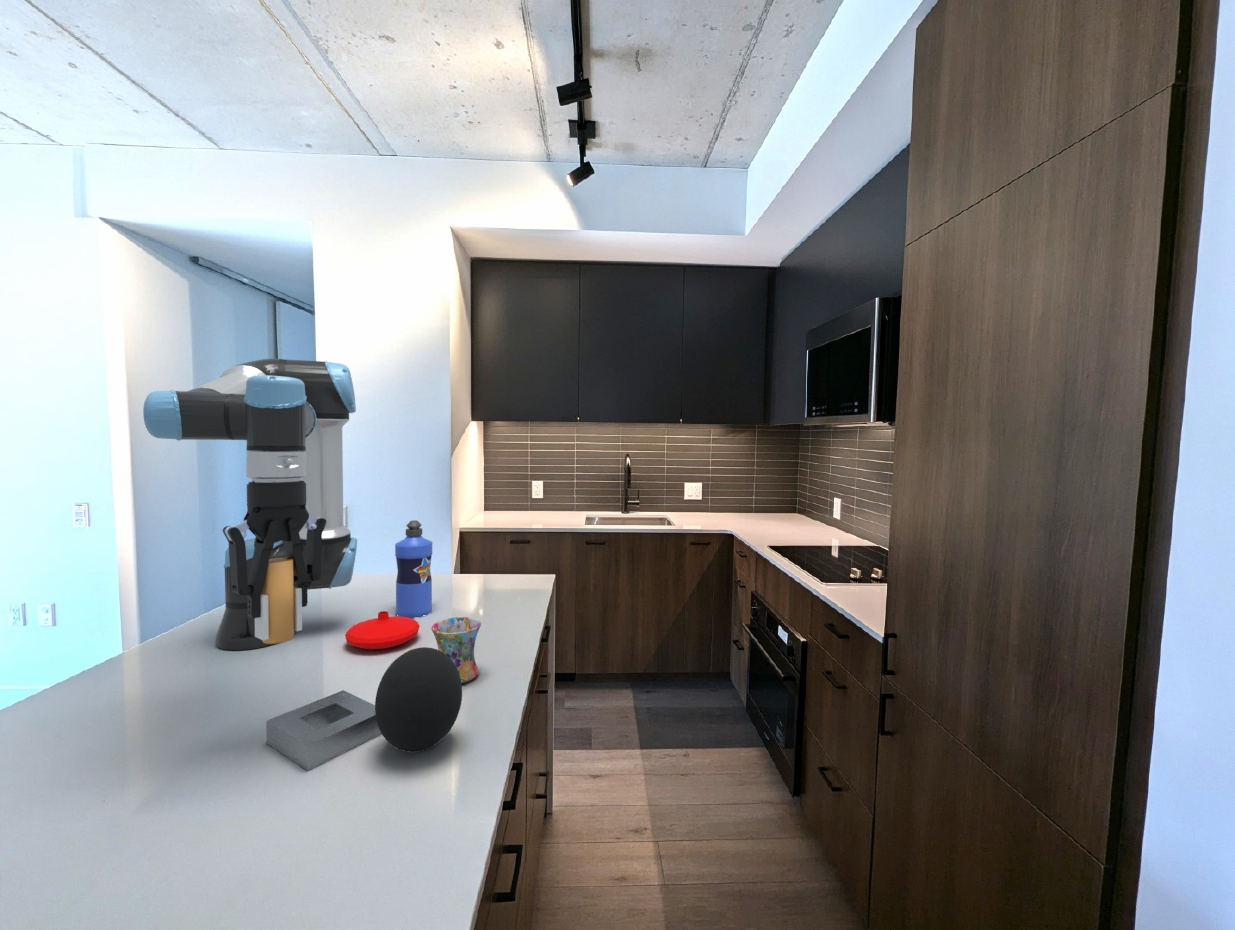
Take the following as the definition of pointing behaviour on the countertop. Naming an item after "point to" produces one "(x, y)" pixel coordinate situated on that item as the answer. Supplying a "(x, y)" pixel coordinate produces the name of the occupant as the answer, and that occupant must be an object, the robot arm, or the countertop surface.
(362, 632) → the red pot lid
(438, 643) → the mug
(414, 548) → the water bottle
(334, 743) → the grey peg socket
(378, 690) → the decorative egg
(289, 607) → the orange cylindrical peg
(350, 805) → the countertop surface
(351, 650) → the countertop surface
